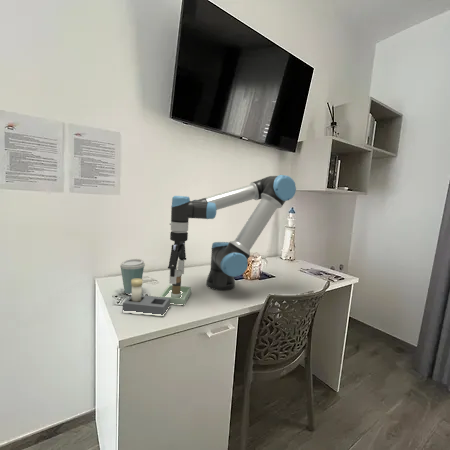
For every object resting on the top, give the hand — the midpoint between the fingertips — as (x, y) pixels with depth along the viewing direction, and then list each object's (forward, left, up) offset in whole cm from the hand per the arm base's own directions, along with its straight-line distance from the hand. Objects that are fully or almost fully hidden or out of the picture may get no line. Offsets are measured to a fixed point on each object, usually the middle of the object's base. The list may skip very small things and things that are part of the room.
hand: (176, 278), depth 117 cm
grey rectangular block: (+8, +14, -9) cm, 19 cm away
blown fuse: (0, 0, -9) cm, 9 cm away
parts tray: (0, 0, -9) cm, 9 cm away
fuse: (+13, +14, -9) cm, 21 cm away
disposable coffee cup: (+21, -1, -9) cm, 23 cm away
